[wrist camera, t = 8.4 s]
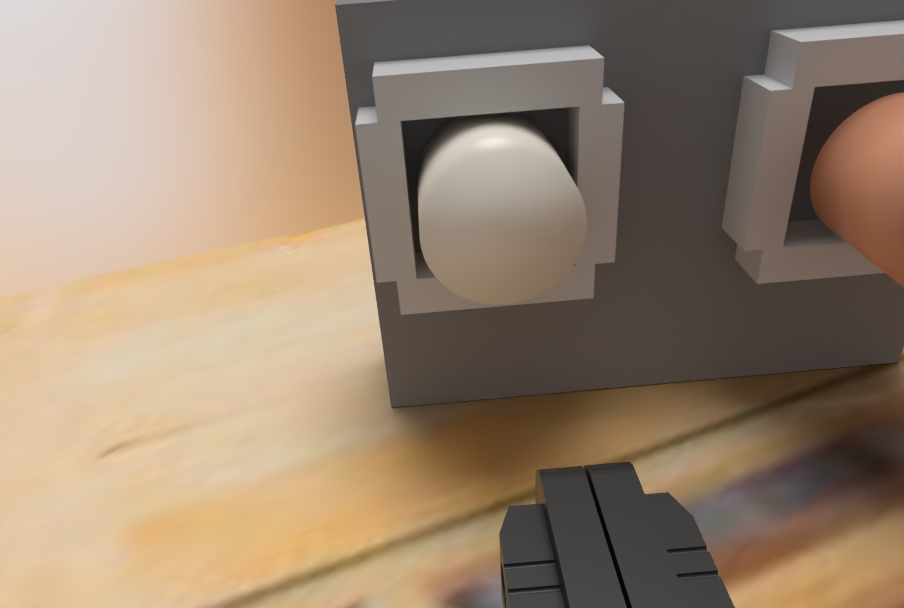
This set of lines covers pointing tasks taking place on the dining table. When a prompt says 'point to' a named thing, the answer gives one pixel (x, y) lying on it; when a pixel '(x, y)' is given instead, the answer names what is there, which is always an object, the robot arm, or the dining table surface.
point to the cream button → (497, 209)
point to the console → (630, 186)
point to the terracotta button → (866, 183)
